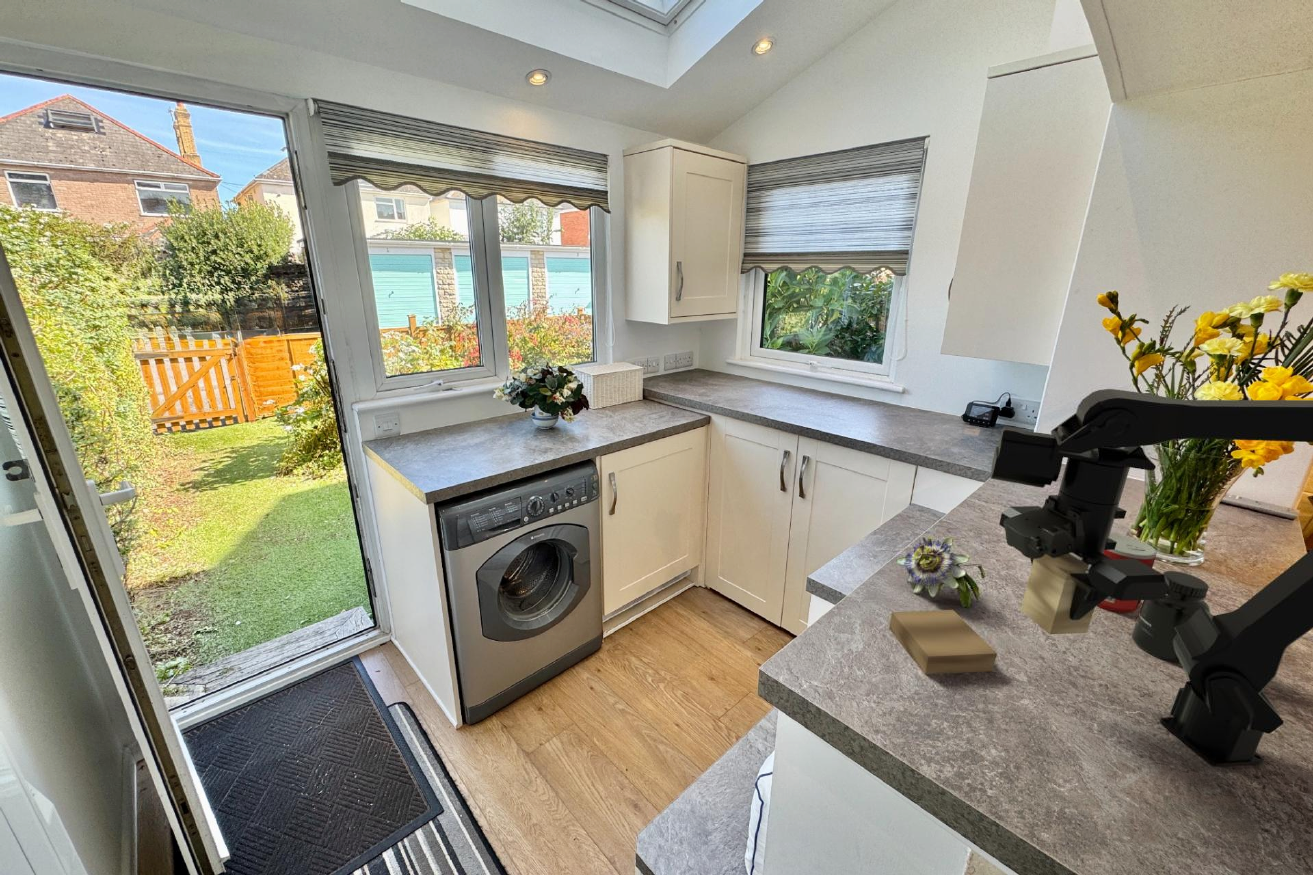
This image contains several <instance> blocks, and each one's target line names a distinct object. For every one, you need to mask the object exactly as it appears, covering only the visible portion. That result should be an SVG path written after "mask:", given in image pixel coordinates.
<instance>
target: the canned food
mask: <svg viewBox="0 0 1313 875" xmlns="http://www.w3.org/2000/svg"><path fill="white" fill-rule="evenodd" d="M1109 538H1110V539H1112V540H1114V541H1116V542H1117V544H1116V547H1115V550H1104V552H1103V553H1102V554H1104V555H1106V556H1107V557H1109V558H1111V559H1136V560H1138V561H1140V562H1142V563H1144V564H1145V565H1147V566H1149V567H1151V568H1153V567H1154V564H1155V561H1156V558H1157V550H1156V548H1155V547H1153V546H1151V545H1150V544H1148V543H1146V542H1144V541H1142V540H1139V539H1136V538H1132V537H1130V536H1126V535H1121V534H1117V533H1115V534H1114V533H1110V535H1109ZM1141 602H1142V600H1133V601H1120V600H1117V599H1114V598H1111V597H1110V596H1109V597H1108V598H1106V599H1105V600H1104V601H1102V602H1101V603H1100V604H1099V605H1097V606H1096V607H1098V608H1102V609H1104V610H1107V611H1111V612H1114V613H1120V614H1122V613H1123V614H1130V613H1131V614H1132V613H1135V612H1136V611H1137V609H1138V608H1139V607H1140V605H1141Z"/></svg>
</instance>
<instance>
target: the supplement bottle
mask: <svg viewBox="0 0 1313 875" xmlns="http://www.w3.org/2000/svg"><path fill="white" fill-rule="evenodd" d="M1162 574H1164V575H1165V577H1166V578H1167V580H1168V581H1169V588H1168V591H1167V593H1166V596H1165V599H1161V600H1142V604H1141V606H1140V609H1139V612H1138V615H1137V618H1136V621H1135V623H1134V627H1133V629H1132V632H1131V638H1132V640H1133V642H1134V643H1135V645H1137V647H1139V648H1140V649H1142V650H1143V651H1144V652H1146V653H1148V654H1150V655H1152V656H1154V657H1156V658H1159V659H1162V660H1164V661H1169V662H1173V663H1174V662H1175V663H1180V661H1179V659H1178V657H1177V655H1176V653H1175V650H1174V646H1173V640H1174V637H1175V636H1176V635H1177V634H1178V633H1177V631H1176V630H1175V627H1176V626H1179V625H1182V624H1184V623H1185V622H1187V621H1188V620H1189V619H1190V618H1191V617H1192V616H1193V615H1194V613H1195V612H1196V611H1197V610H1199V609H1200V608H1204V609H1205V610H1207V611H1208V612H1209V613H1211V609H1210V606H1209V604H1208V603H1207V602H1206V601H1205V600H1206V598H1207V596H1208V594H1207V593H1208V590H1209V589H1210V588H1209V584H1208V583H1207V582H1206V581H1205V580H1203V579H1201V578H1199V577H1197V576H1195V575H1192V574H1189V573H1186V572H1182V571H1178V570H1177V571H1175V570H1167V571H1164V572H1163V573H1162Z"/></svg>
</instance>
